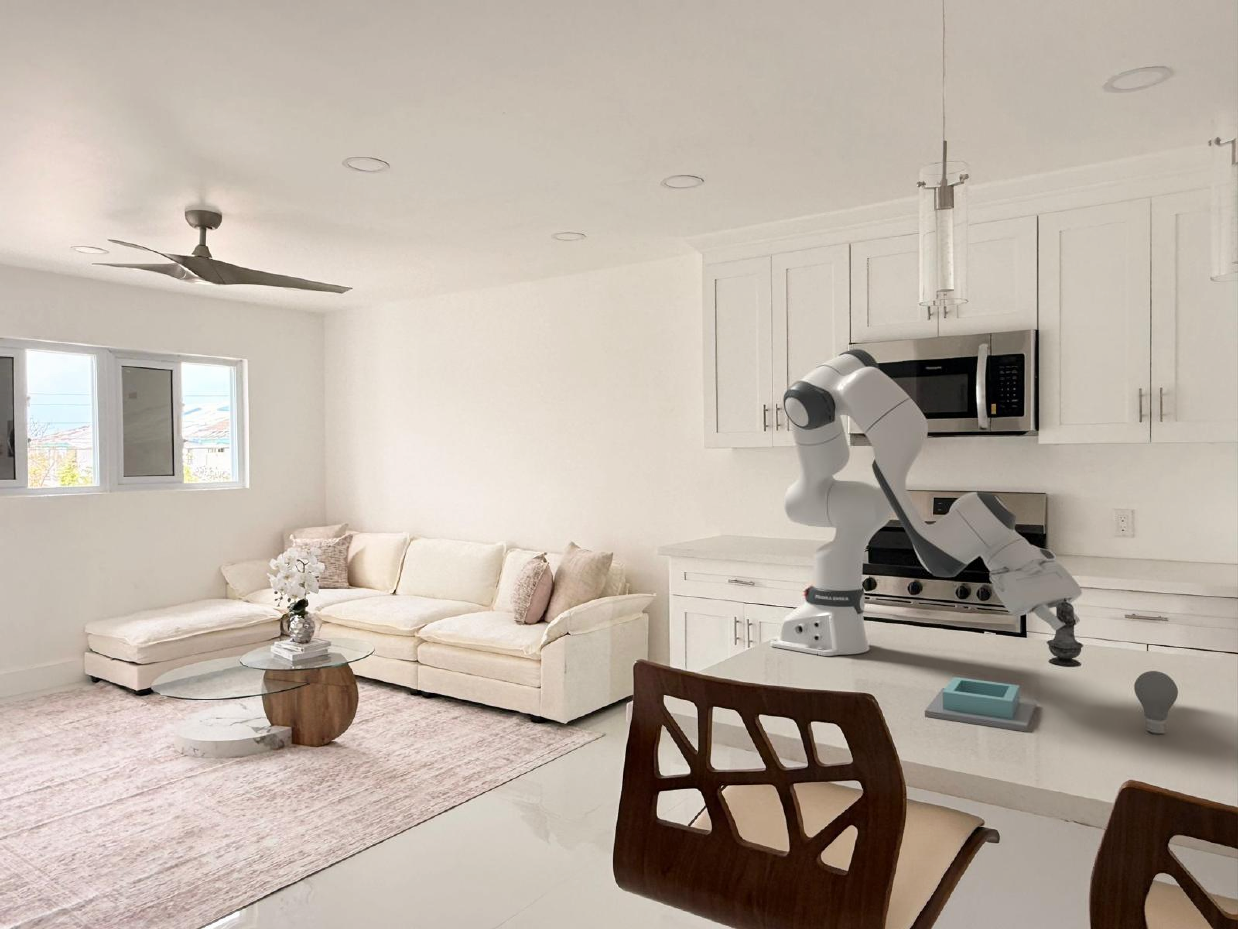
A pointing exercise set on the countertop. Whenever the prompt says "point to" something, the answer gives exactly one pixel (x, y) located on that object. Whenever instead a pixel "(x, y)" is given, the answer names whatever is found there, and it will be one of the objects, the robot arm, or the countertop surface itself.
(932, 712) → the socket
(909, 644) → the countertop surface
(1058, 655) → the salt shaker
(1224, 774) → the countertop surface
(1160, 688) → the light bulb
